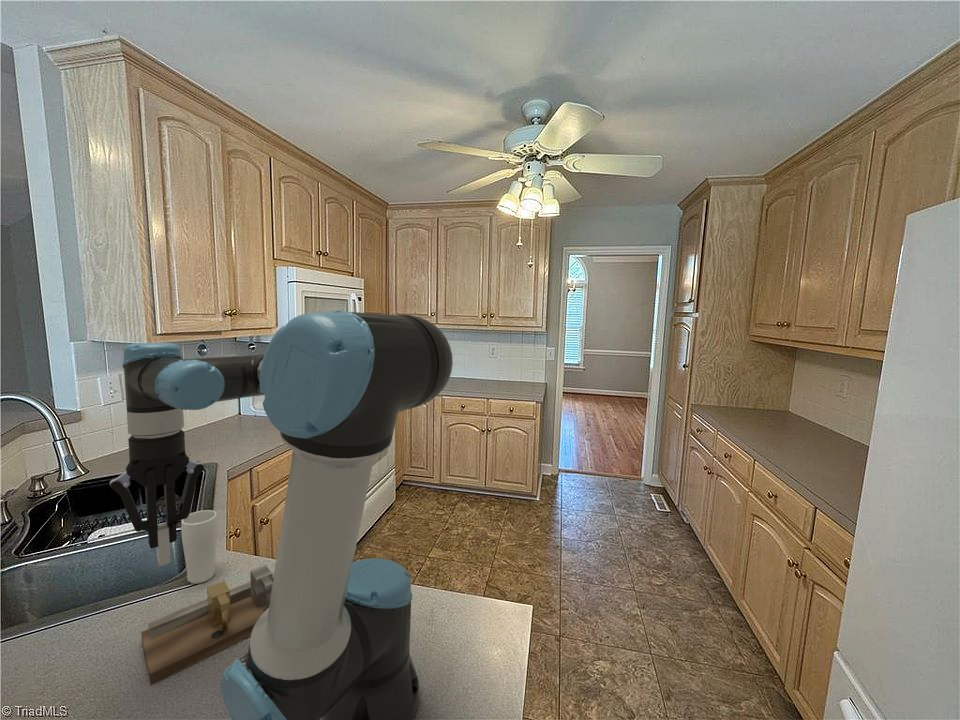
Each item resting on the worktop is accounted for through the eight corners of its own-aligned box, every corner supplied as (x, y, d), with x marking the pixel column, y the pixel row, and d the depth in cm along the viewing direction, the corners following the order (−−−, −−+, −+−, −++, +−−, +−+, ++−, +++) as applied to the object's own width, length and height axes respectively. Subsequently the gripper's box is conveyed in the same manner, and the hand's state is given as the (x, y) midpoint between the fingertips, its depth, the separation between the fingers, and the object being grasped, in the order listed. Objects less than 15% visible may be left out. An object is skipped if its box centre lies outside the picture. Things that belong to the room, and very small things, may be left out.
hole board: (297, 612, 83) (297, 576, 82) (150, 685, 66) (148, 640, 65) (277, 584, 91) (277, 551, 90) (141, 641, 74) (139, 602, 73)
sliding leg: (235, 627, 76) (234, 599, 75) (216, 636, 74) (216, 606, 73) (225, 607, 81) (224, 580, 80) (207, 615, 78) (206, 587, 78)
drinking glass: (177, 589, 88) (175, 525, 86) (191, 570, 95) (188, 511, 93) (212, 585, 90) (210, 522, 88) (223, 566, 96) (221, 508, 95)
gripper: (197, 421, 75) (202, 538, 78) (103, 434, 66) (112, 567, 68) (207, 430, 70) (212, 555, 72) (106, 445, 61) (116, 588, 63)
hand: (163, 561), depth 70 cm, fingers closed
